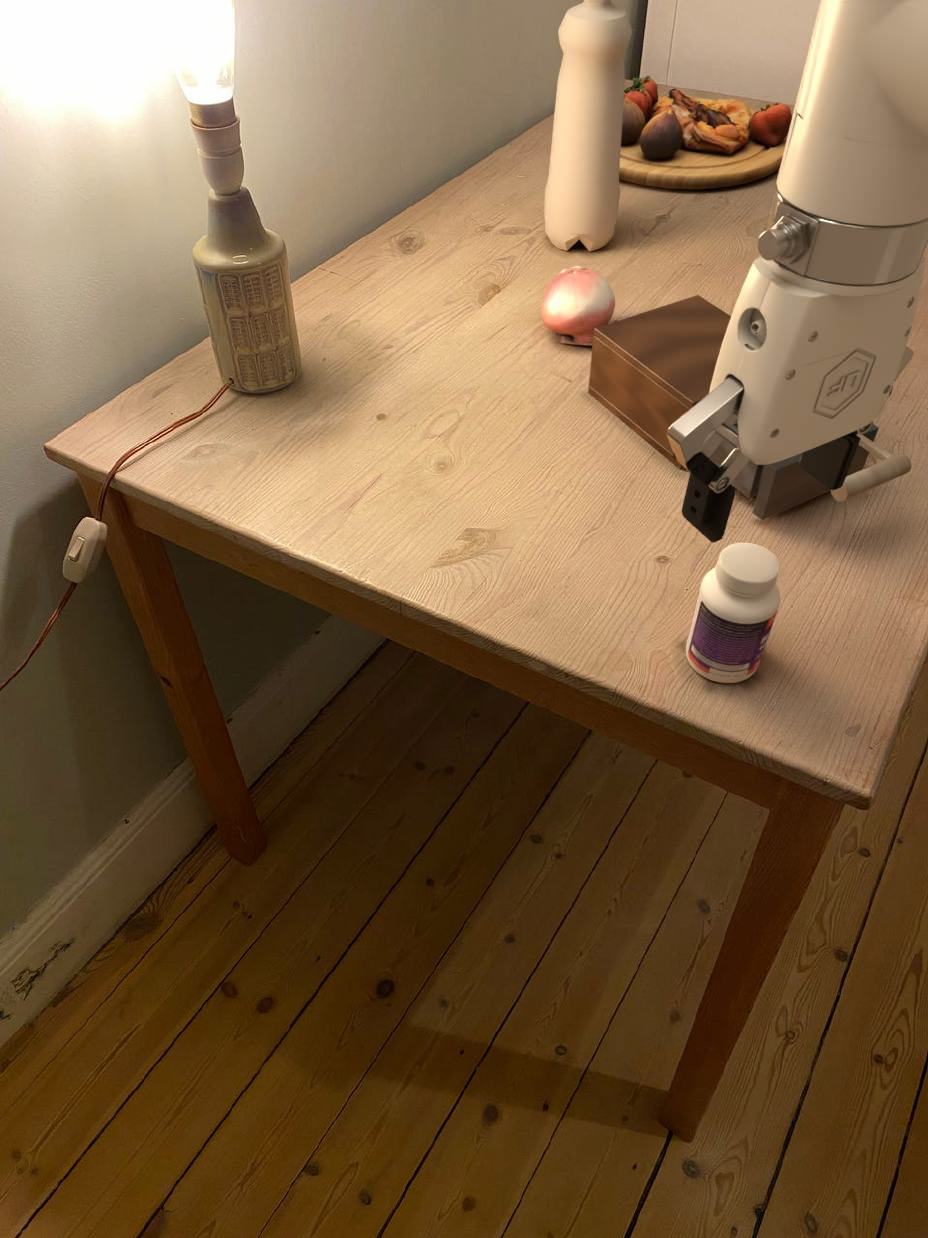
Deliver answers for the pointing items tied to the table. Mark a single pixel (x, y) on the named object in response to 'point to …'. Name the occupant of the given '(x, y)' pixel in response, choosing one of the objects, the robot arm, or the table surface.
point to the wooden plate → (698, 139)
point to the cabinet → (657, 365)
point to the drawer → (794, 485)
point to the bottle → (587, 126)
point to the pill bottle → (734, 614)
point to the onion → (577, 305)
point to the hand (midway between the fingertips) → (761, 501)
